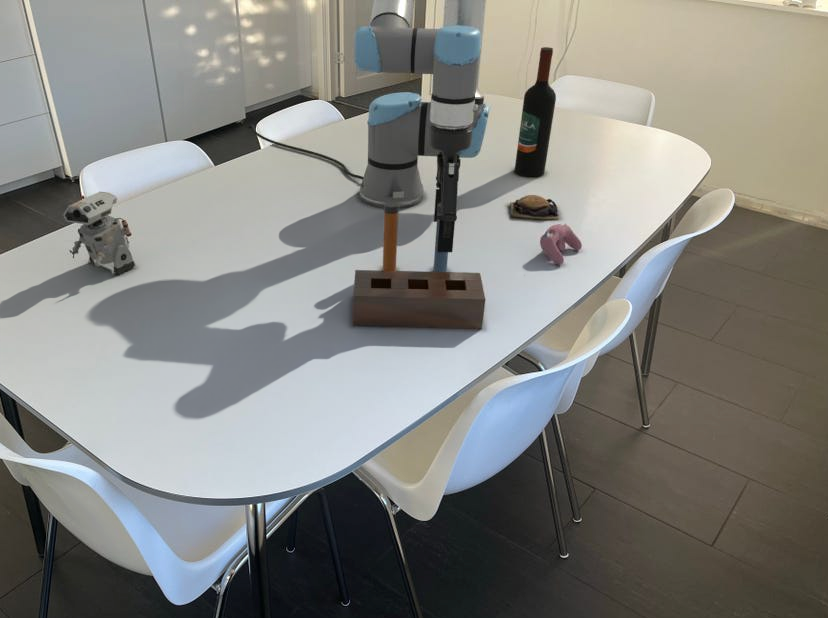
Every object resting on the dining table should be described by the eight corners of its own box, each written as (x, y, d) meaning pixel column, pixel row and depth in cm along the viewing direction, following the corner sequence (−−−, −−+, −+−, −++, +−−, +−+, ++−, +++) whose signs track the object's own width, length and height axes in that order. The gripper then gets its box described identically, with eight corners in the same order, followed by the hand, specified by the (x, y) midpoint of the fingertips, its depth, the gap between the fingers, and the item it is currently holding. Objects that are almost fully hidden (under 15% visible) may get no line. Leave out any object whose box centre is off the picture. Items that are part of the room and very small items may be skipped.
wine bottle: (546, 177, 185) (566, 52, 168) (516, 177, 185) (533, 52, 168) (541, 167, 191) (559, 45, 174) (512, 166, 191) (527, 44, 174)
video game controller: (564, 251, 155) (555, 220, 153) (584, 248, 152) (575, 216, 150) (542, 268, 149) (533, 236, 147) (562, 265, 145) (553, 232, 143)
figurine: (65, 273, 144) (47, 202, 135) (113, 252, 151) (99, 183, 143) (94, 287, 139) (77, 214, 131) (142, 265, 147) (129, 194, 138)
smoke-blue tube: (429, 271, 144) (434, 205, 136) (438, 266, 146) (443, 200, 138) (441, 276, 143) (446, 209, 135) (449, 271, 145) (455, 204, 136)
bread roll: (511, 219, 165) (513, 203, 163) (509, 203, 172) (511, 189, 170) (559, 221, 164) (562, 205, 162) (555, 205, 171) (558, 190, 169)
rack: (355, 298, 136) (355, 269, 132) (476, 301, 135) (480, 272, 132) (352, 325, 128) (352, 296, 125) (481, 329, 127) (485, 299, 124)
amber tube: (379, 270, 145) (380, 204, 137) (388, 265, 146) (390, 199, 138) (390, 275, 143) (392, 208, 135) (399, 270, 145) (402, 203, 137)
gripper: (479, 147, 117) (467, 266, 129) (467, 104, 138) (457, 210, 150) (433, 146, 118) (425, 265, 130) (427, 103, 138) (421, 209, 150)
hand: (442, 235), depth 140 cm, fingers open, 13 cm apart
